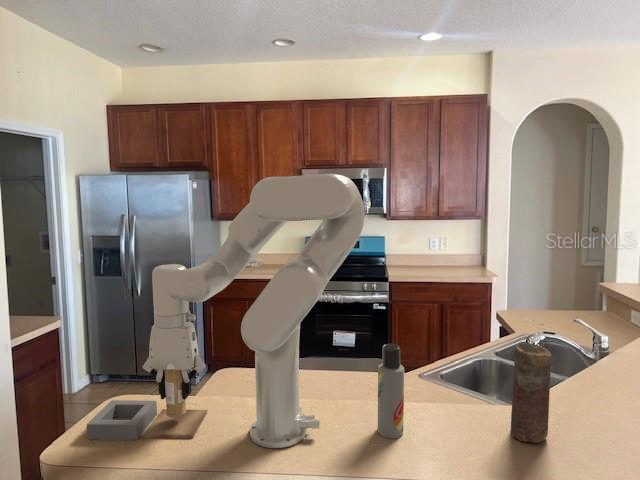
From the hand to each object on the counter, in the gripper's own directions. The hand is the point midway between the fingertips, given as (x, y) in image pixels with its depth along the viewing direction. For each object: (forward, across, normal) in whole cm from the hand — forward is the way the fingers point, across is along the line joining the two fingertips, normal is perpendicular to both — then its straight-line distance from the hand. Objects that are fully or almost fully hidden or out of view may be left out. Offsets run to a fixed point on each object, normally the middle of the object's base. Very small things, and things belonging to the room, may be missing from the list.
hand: (175, 395), depth 103 cm
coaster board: (+7, 0, 0) cm, 7 cm away
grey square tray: (+7, +12, +1) cm, 14 cm away
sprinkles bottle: (+5, 0, 0) cm, 5 cm away
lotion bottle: (+7, -49, +2) cm, 50 cm away
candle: (+7, -79, +3) cm, 79 cm away
